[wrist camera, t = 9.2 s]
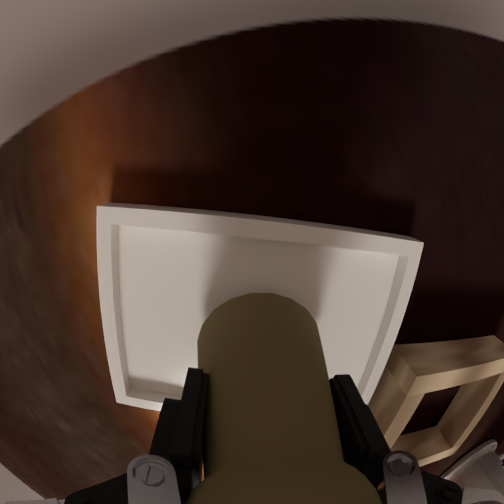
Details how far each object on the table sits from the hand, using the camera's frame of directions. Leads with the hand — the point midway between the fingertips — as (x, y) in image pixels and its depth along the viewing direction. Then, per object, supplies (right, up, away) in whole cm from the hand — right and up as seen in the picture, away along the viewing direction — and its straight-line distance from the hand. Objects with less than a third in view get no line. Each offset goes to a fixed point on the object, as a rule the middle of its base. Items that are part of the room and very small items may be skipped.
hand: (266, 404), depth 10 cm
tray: (0, +2, +6) cm, 6 cm away
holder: (+14, -7, +8) cm, 17 cm away
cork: (0, +1, +4) cm, 4 cm away
